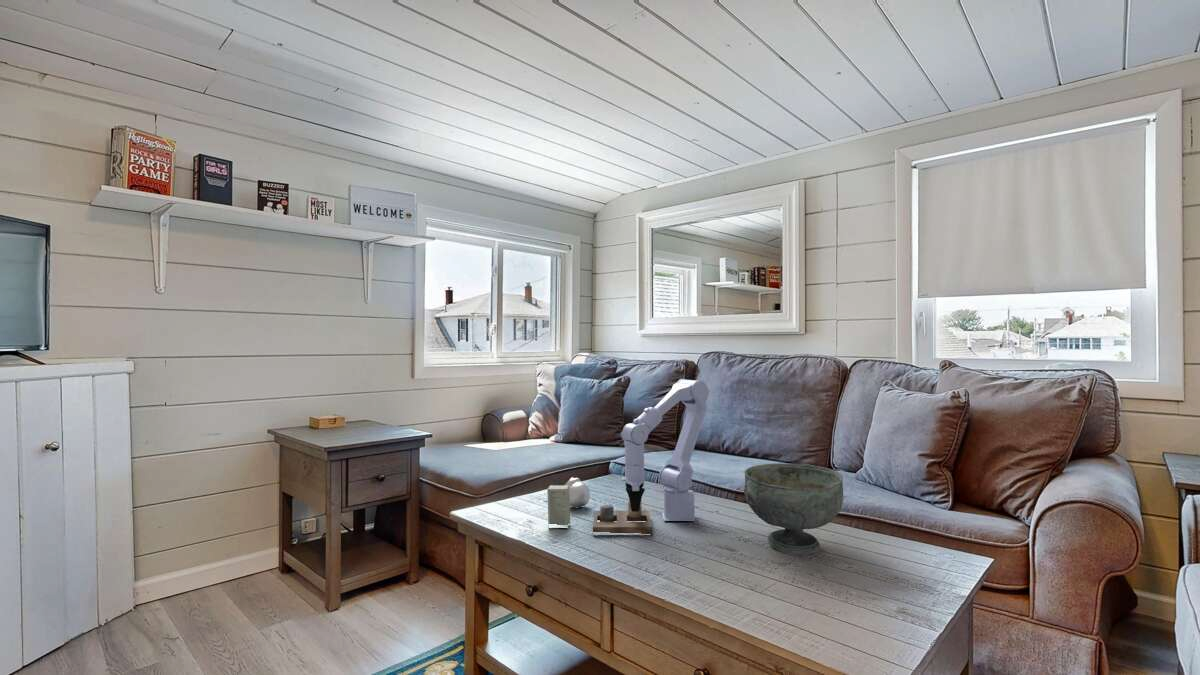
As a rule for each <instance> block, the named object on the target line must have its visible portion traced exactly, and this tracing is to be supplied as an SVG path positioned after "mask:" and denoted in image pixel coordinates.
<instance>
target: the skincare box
mask: <svg viewBox="0 0 1200 675" xmlns="http://www.w3.org/2000/svg"><path fill="white" fill-rule="evenodd" d="M546 491H547V520H548V522H547V523H548V524H557V525H568V524H569V523H570V524H571V506H570V497H569V485H565V484H564V485H563V484H561V485H559V484H558V485H552V484H551V485H549V486H548V488H546ZM548 524H547V525H548Z"/></svg>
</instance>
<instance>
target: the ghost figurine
mask: <svg viewBox="0 0 1200 675" xmlns="http://www.w3.org/2000/svg"><path fill="white" fill-rule="evenodd" d="M564 485H569V497H570V507H571V506H572V507H571V508H573V507H582V506H584V507H585V506H586V505H588V503H589V501H590V499H591V490H590V488H589V486H588V485H587V484H586V483H585V482H583V481H582V480H581V479H580V478H579V477H571V478H569V479H568V481H567V482H565V484H564ZM582 508H583V507H582Z"/></svg>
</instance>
